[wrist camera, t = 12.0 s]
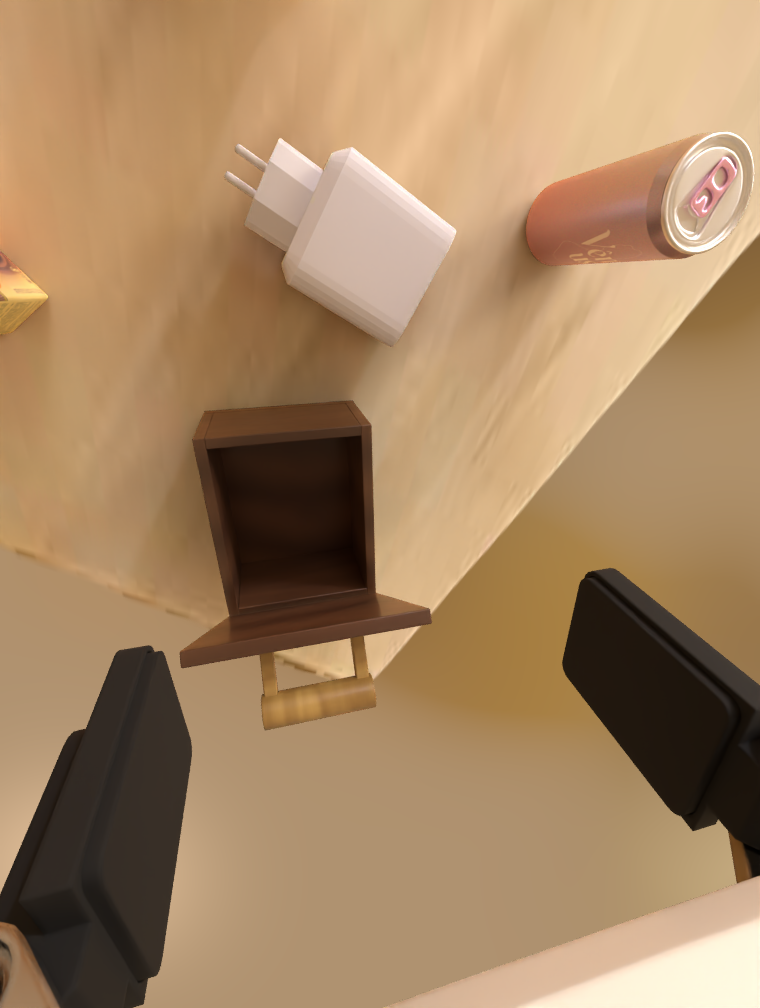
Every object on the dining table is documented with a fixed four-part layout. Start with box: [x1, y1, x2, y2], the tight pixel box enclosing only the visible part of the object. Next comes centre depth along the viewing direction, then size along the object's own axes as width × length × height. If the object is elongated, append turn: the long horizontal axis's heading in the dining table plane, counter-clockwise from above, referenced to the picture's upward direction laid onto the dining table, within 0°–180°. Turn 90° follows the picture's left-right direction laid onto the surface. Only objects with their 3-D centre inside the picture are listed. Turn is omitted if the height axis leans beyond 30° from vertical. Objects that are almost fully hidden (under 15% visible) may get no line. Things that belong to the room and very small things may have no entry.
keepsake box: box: [192, 401, 376, 616], centre depth 39 cm, size 16×13×8 cm
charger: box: [224, 138, 456, 347], centre depth 32 cm, size 5×9×15 cm
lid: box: [180, 593, 432, 730], centre depth 30 cm, size 16×13×5 cm
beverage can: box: [526, 132, 754, 266], centre depth 31 cm, size 6×6×15 cm
